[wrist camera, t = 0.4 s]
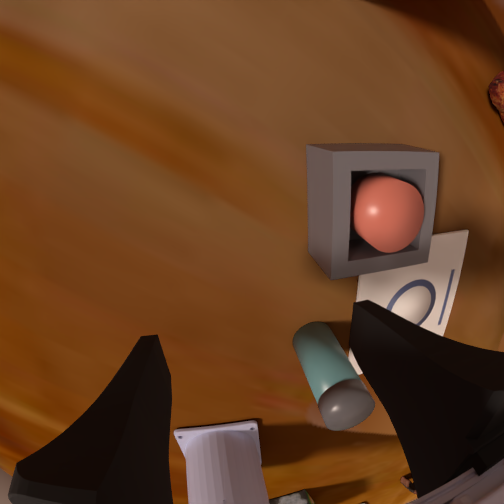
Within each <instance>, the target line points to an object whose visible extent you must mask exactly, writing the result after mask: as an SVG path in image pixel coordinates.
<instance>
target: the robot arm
mask: <svg viewBox="0 0 504 504" xmlns="http://www.w3.org/2000/svg"><path fill="white" fill-rule="evenodd" d="M349 346H350V348H351V350H352V353H353V355H354V357H355V359H356V362H357V364H358V366H359V367H360V369H361V371H362V372H363V374H364V376H365V377H366V379H367V380H368V382H369V384H370V385H371V387H372V388H373V389H374V391H375V393H376V395H377V396H378V398H379V400H380V401H381V403H382V404H383V406H384V408H385V409H386V411H387V413H388V415H389V417H390V419H391V422H392V424H393V426H394V428H395V430H396V433H397V435H398V438H399V440H400V443H401V445H402V448H403V450H404V453H405V456H406V459H407V462H408V465H409V468H410V471H411V474H412V478H413V481H414V485H415V489H416V493H417V497H418V499H416V500H414V501H412V502H410V503H408V504H504V352H498V351H492V350H487V349H482V348H478V347H474V346H470V345H466V344H463V343H460V342H457V341H454V340H451V339H448V338H446V337H443V336H440V335H438V334H436V333H433V332H431V331H429V330H427V329H425V328H422V327H420V326H418V325H416V324H414V323H412V322H410V321H408V320H406V319H404V318H403V317H401V316H399V315H397V314H395V313H393V312H391V311H390V310H388V309H386V308H384V307H382V306H380V305H378V304H376V303H374V302H372V301H370V300H363V301H359V302H354V304H353V314H352V323H351V331H350V340H349ZM171 406H172V389H171V375H170V372H169V369H168V366H167V363H166V360H165V357H164V354H163V350H162V347H161V344H160V341H159V338H158V335H149V336H141V337H140V339H139V340H138V342H137V343H136V345H135V346H134V348H133V349H132V351H131V352H130V354H129V356H128V357H127V359H126V360H125V362H124V363H123V365H122V366H121V368H120V369H119V370H118V372H117V373H116V375H115V376H114V378H113V379H112V380H111V382H110V383H109V384H108V386H107V387H106V388H105V390H104V391H103V392H102V394H101V395H100V396H99V397H98V398H97V400H96V401H95V402H94V403H93V404H92V405H91V406H90V407H89V408H88V409H87V411H86V412H85V413H84V414H83V415H82V416H81V417H80V418H78V419H77V420H76V421H75V422H74V423H73V424H72V425H71V426H70V427H69V428H67V429H66V430H65V431H64V432H63V433H62V434H60V435H59V436H58V437H57V438H55V439H54V440H53V441H51V442H50V443H48V444H47V445H46V446H44V447H43V448H41V449H40V450H38V451H36V452H35V453H33V454H31V455H30V456H28V457H26V458H25V459H23V460H21V461H19V462H17V464H16V467H15V471H14V474H13V478H12V482H11V485H10V489H9V493H8V497H9V500H10V501H11V503H12V504H173V499H172V491H171V482H170V471H169V435H170V420H171ZM174 435H175V437H176V439H177V442H178V444H179V446H180V448H181V450H182V452H183V454H184V456H185V458H186V470H187V486H188V500H189V504H270V503H269V499H268V495H267V491H266V486H265V482H264V478H263V474H262V469H261V464H262V461H261V452H260V443H259V434H258V425H257V421H254V420H251V421H244V422H238V423H231V424H223V425H215V426H206V427H196V428H185V429H176V430H175V431H174Z"/></svg>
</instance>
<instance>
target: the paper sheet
mask: <svg viewBox="0 0 504 504" xmlns="http://www.w3.org/2000/svg"><path fill="white" fill-rule="evenodd" d="M468 233H469V230H467V229H466V230H460V231H453V232H446V233H439V234H432V239H431V245H430V252H429V258H428V262H427V263H422V264H417V265H412V266H407V267H401V268H396V269H391V270H386V271H380V272H375V273H369V274H364V275H359V280H358V290H357V299H356V302H359V301H363V300H370V301H372V302H374V303H376V304H378V305H380V306H382V307H384V308H386V309H388V310H390V311H391V312H393V313H395V314H397V315H399V316H401V317H403V318H404V319H406V320H408V321H410V322H412V323H414V324H416V325H418V326H420V327H422V328H425V329H427V330H429V331H431V332H433V333H436V334H438V335H440V336H443V334H444V331H445V328H446V325H447V322H448V318H449V315H450V312H451V308H452V305H453V301H454V297H455V293H456V290H457V286H458V281H459V277H460V273H461V269H462V264H463V259H464V254H465V249H466V244H467V238H468ZM348 359H349V361H350V362H351V364H352V366H353V367H354V369H355V371H356V372H357V374H358V375H359V374H363V372H362V371H361V369H360V367H359V366H358V364H357V362H356V359H355V357H354V355H353V353H352V350H351V348H350V351H349V357H348Z"/></svg>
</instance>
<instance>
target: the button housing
mask: <svg viewBox="0 0 504 504" xmlns="http://www.w3.org/2000/svg"><path fill="white" fill-rule="evenodd" d="M306 153H307V186H308V252H309V253H310V255H311V256H312V257H313V259H314V260H315V261H316V262H317V264H318V265H319V266H320V267H321V269H322V270H323V271H324V272H325V274H326V275H327V276H328V278H329V279H330V280H335V279H341V278H346V277H352V276H358V275H364V274H369V273H375V272H380V271H386V270H391V269H396V268H401V267H407V266H412V265H417V264H422V263H427V262H428V258H429V252H430V245H431V239H432V231H433V224H434V215H435V206H436V196H437V184H438V169H439V152H435V151H430V150H426V149H422V148H417V147H413V146H408V145H403V144H373V143H347V144H308V145H306ZM369 173H383V174H385V175H388V176H391V177H393V178H396V179H399V180H401V181H404V182H406V183H409V184H411V185H412V186H414V187H415V188H416V189H417V190H418V192H419V193H420V195H421V197H422V200H423V204H424V218H423V223H422V226H421V228H420V230H419V232H418V234H417V236H416V237H415V239H414V240H413V241H412V242H411V243H410V244H409V245H408V246H406V247H405V248H403V249H401V250H399V251H397V252H392V253H386V252H381V251H379V250H377V249H376V248H374V247H373V246H372V245H371V244H369V243H368V242H367V241H366V240H364V239H363V238H362V237H361V236H359V235H358V234H357V233H356V232H354V231H353V230H352V229H351V228H350V207H351V186H352V185H353V184H354V183H355V182H356V181H357V180H358V179H359V178H360V177H362V176H364V175H366V174H369Z"/></svg>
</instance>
